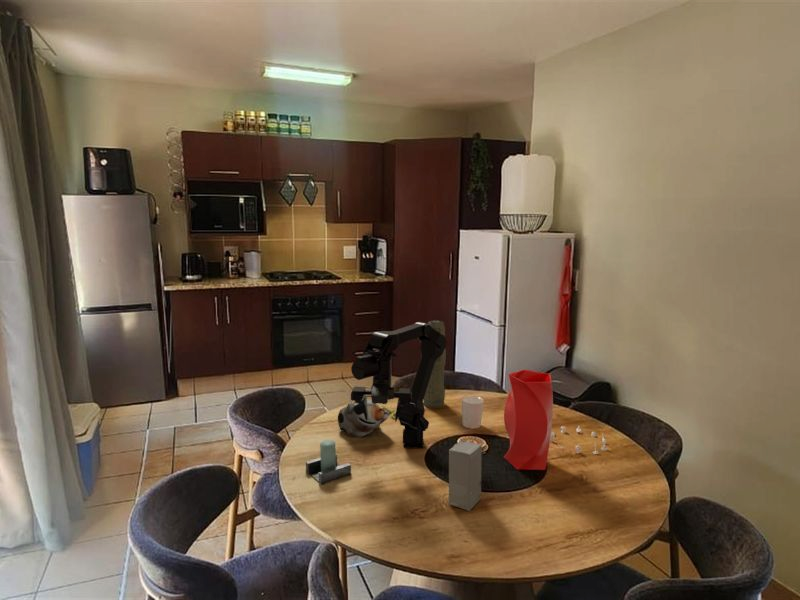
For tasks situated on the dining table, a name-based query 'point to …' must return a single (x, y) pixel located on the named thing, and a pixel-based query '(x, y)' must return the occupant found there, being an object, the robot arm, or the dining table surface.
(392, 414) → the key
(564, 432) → the game piece set
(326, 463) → the teal peg
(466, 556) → the dining table surface
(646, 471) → the dining table surface
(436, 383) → the grey green tall pillar
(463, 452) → the skincare box
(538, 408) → the vase
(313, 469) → the rail dock
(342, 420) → the lucky cat figurine
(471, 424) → the white cup
